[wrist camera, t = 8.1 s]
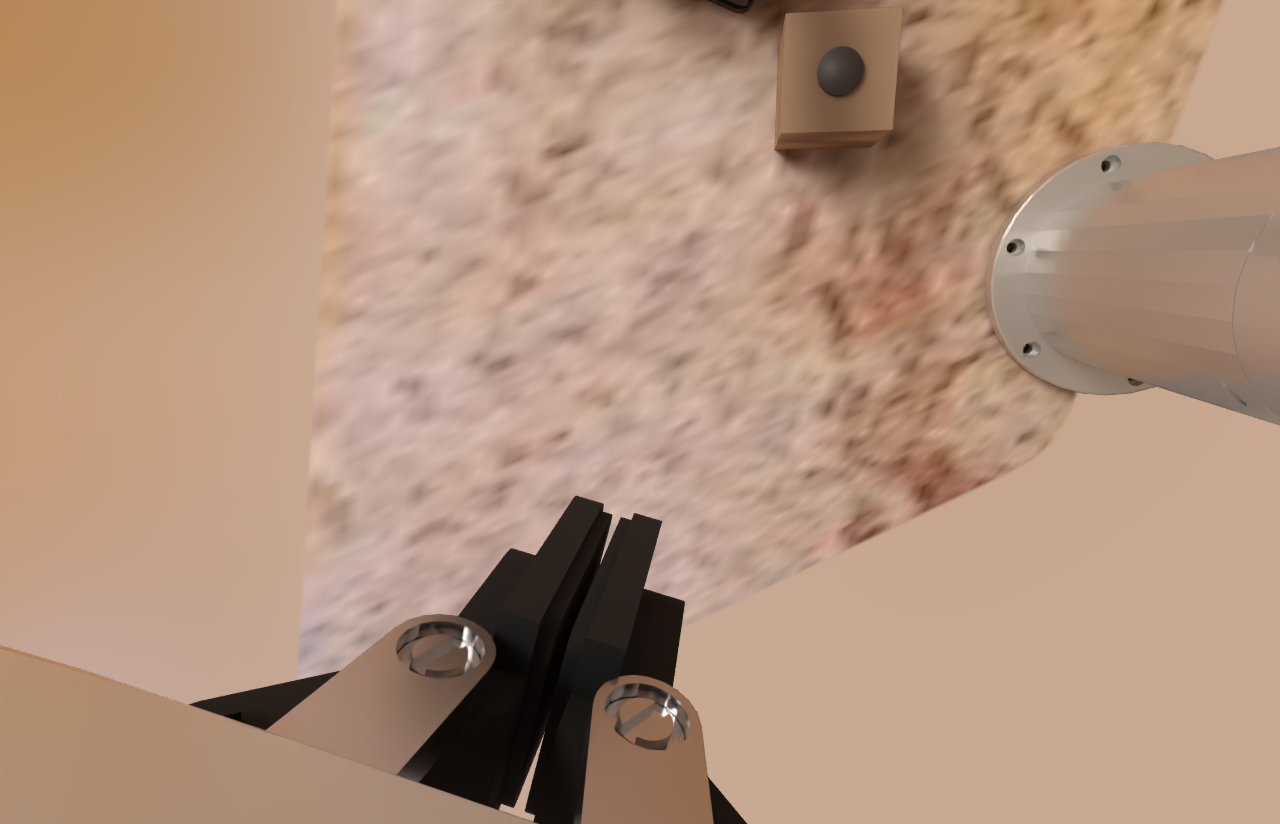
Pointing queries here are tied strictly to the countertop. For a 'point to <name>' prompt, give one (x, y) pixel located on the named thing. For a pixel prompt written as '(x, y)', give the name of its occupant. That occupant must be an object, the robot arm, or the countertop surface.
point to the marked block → (837, 78)
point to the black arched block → (734, 4)
